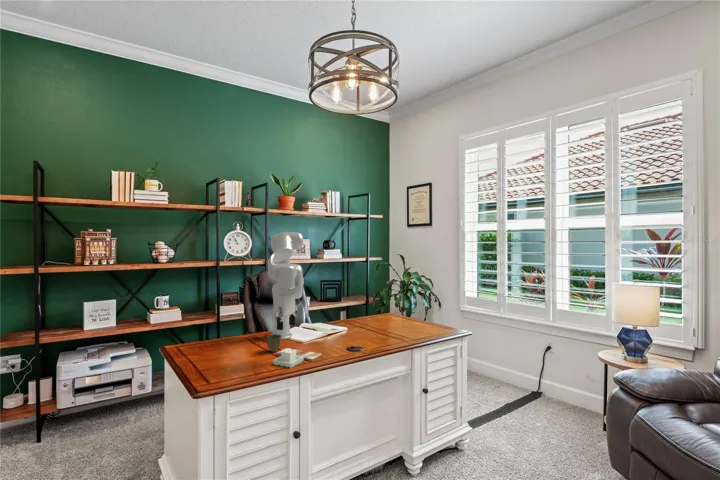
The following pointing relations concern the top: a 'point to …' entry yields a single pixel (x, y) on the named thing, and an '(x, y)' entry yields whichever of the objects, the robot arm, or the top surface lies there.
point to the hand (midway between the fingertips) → (286, 327)
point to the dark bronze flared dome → (273, 342)
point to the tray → (288, 364)
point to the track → (304, 354)
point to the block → (288, 355)
